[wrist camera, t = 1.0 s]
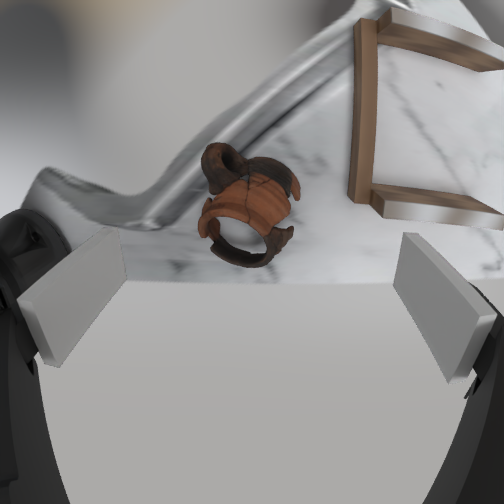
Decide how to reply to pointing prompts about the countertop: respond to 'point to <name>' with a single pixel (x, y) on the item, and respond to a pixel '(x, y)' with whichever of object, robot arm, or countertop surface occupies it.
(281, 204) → the pottery mug
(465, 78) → the countertop surface
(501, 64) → the wooden stand
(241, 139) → the countertop surface
